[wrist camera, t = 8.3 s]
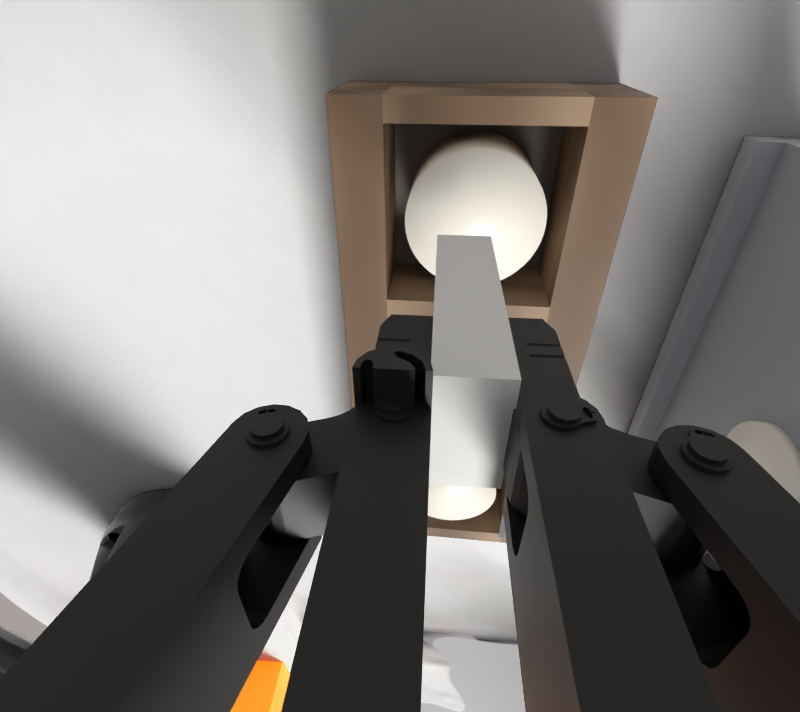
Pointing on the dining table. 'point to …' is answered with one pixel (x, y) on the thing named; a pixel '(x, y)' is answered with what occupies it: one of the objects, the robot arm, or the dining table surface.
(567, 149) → the button board
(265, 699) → the orange juice
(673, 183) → the dining table surface
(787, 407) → the pattern panel
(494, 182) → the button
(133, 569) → the robot arm
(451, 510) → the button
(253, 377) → the dining table surface
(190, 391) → the dining table surface
